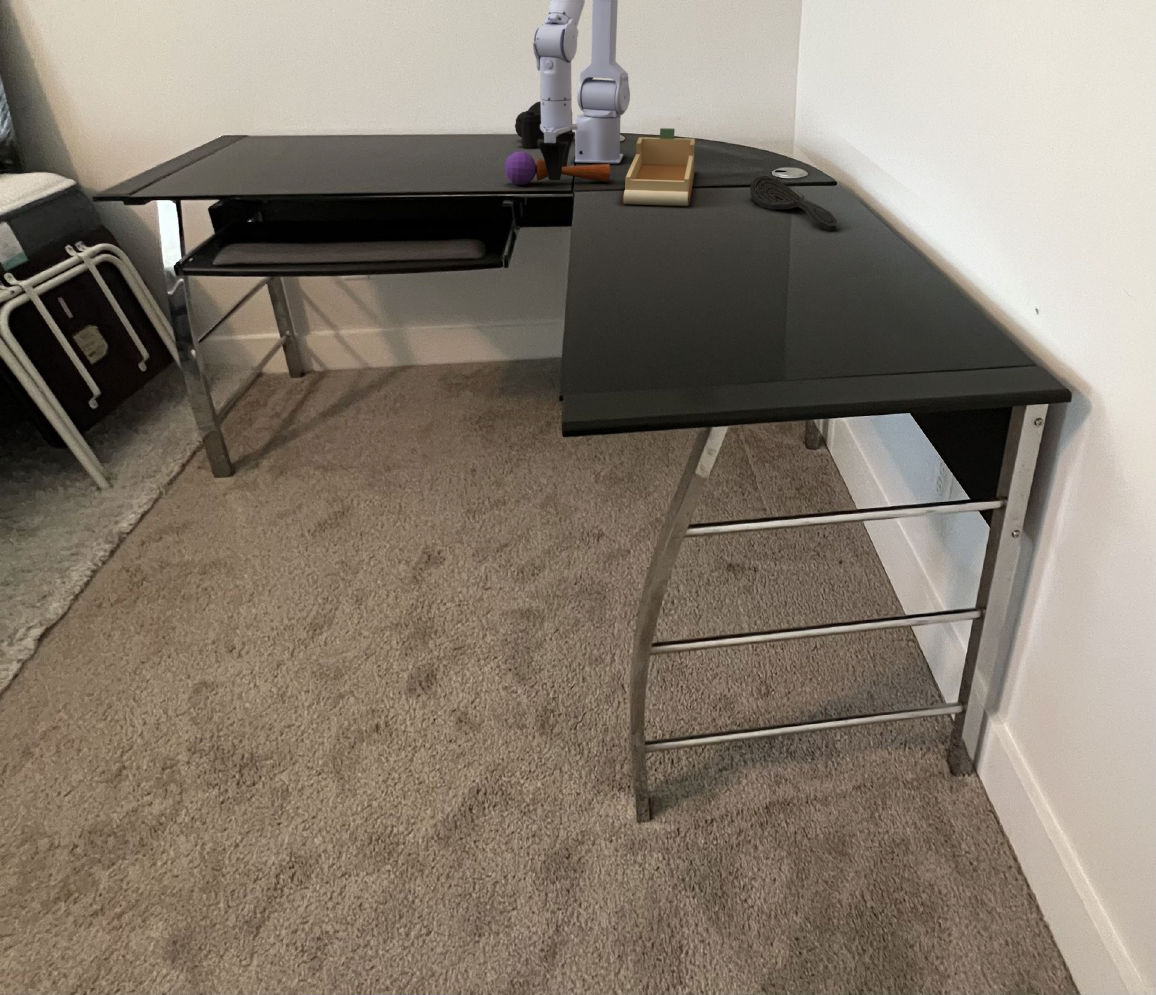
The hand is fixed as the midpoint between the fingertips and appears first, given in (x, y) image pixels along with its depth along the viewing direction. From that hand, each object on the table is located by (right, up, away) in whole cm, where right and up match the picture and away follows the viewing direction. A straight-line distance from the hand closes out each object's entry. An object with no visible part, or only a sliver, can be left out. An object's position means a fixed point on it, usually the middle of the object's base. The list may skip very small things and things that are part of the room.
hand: (557, 176), depth 162 cm
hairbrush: (+41, -13, -16) cm, 46 cm away
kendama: (0, -1, +1) cm, 2 cm away
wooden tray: (+20, -3, -2) cm, 20 cm away
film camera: (-5, +21, +34) cm, 41 cm away
